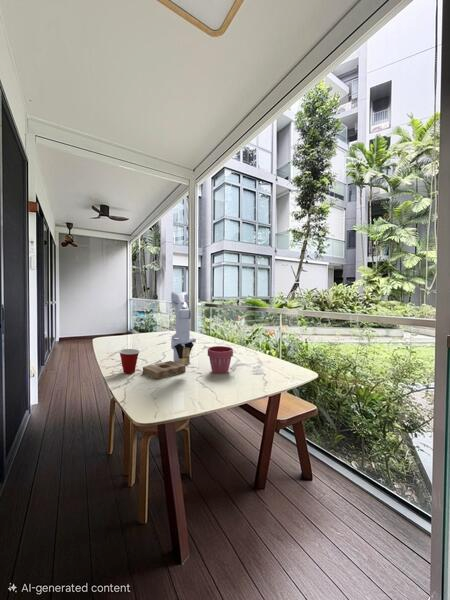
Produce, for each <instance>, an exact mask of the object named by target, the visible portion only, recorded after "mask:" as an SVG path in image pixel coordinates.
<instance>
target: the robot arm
mask: <svg viewBox="0 0 450 600" xmlns="http://www.w3.org/2000/svg"><path fill="white" fill-rule="evenodd" d="M170 300H171V301H170V302H171V306H172V307H174V309H175V333H174V334H173V335H172V336H171V339H170V341H171V342H170V344H171V345H170V348H171V349H172V351H173V362H176V363H179V358H180V359H182V353H183V348H184V347H188V348H190V349H189V356H190V355H191V352H192V349H193V347H194V343H197V338H192V337H191V336H190V329H191V328H190V326H191V325H190V324H191V323H190V322H191V321H190V320H191V318H192V313H191V308H190V307H189V306H188V301H189V293H188V291H172V292H171V294H170ZM190 337H191V338H190ZM190 360H191V359H190V357H189V363H188V364H184V365H189V364H191V362H190ZM179 364H180V363H179ZM182 365H183V364H182Z"/></svg>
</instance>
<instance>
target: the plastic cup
mask: <svg viewBox="0 0 450 600" xmlns="http://www.w3.org/2000/svg"><path fill="white" fill-rule="evenodd" d="M140 352H141V351H140V350H139V349H134V348H124V349H123V348H122V349H120V350H119V351H118V353H119V355H120V361H121V366H122V372H123V373H124V374H125V373H126V374H127V375H129V374H133V373H135V372H136V367H137V363H138V357H139V355H140V354H139V353H140Z"/></svg>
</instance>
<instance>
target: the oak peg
mask: <svg viewBox="0 0 450 600" xmlns="http://www.w3.org/2000/svg"><path fill="white" fill-rule="evenodd" d="M189 349H190V348H188V347H184V348H183V353H182V359H180V358H179V363H180V364H183V365H184V364H186V365H189V364H188V363H189V357H190V356H189Z"/></svg>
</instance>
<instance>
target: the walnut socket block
mask: <svg viewBox="0 0 450 600" xmlns="http://www.w3.org/2000/svg"><path fill="white" fill-rule="evenodd" d="M186 365H187V364H186ZM186 365H182V364H179V363H176V362H174V360H169V361H164V362H159V363H155V364H150V365H145V366H142V375H143V374H144V375H145V376H148V377H150V378H153V379H155V380H160V379H164V378H167V377H171V376H175V375H178V374H179V375H180V374H183V373H186V371H187V370H186V369H187V367H186Z"/></svg>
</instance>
